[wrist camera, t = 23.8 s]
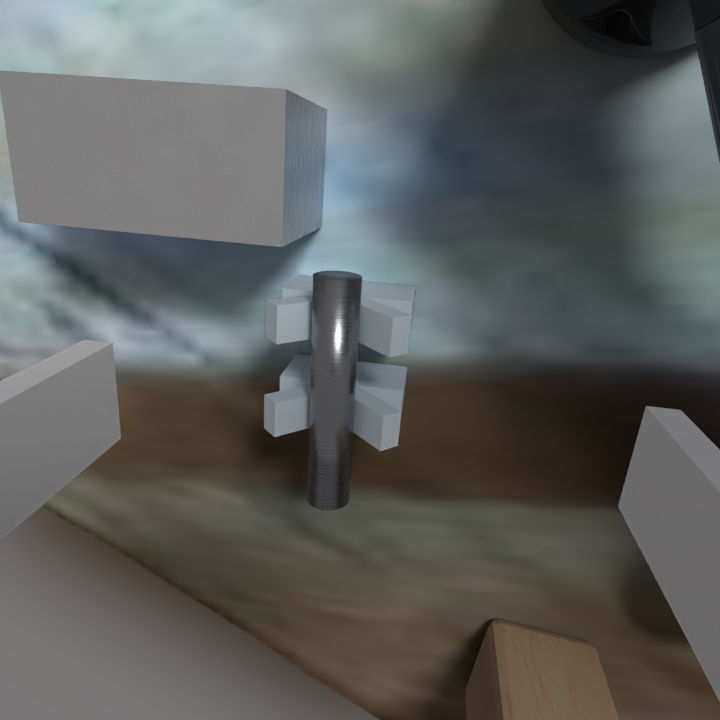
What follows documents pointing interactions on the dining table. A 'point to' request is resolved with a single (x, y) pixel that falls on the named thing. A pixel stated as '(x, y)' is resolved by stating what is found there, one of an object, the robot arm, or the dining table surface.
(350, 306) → the axle
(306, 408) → the v stand
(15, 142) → the grey box
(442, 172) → the dining table surface
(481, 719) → the wooden block
